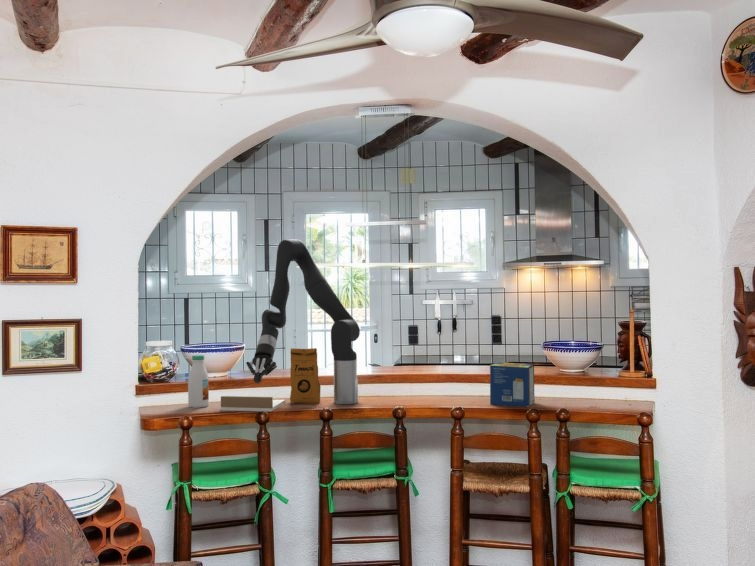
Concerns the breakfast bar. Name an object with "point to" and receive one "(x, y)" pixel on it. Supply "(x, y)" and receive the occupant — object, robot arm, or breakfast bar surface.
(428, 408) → the breakfast bar surface
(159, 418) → the breakfast bar surface
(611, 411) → the breakfast bar surface
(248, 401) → the board
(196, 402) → the milk bottle
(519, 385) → the protein box
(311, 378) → the coffee package
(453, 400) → the breakfast bar surface
